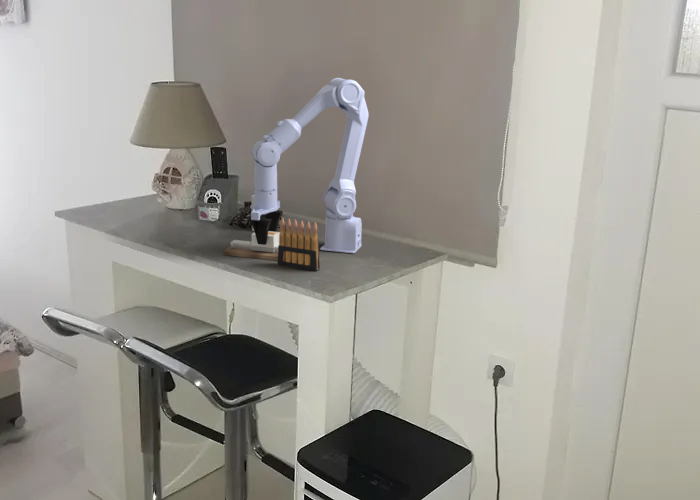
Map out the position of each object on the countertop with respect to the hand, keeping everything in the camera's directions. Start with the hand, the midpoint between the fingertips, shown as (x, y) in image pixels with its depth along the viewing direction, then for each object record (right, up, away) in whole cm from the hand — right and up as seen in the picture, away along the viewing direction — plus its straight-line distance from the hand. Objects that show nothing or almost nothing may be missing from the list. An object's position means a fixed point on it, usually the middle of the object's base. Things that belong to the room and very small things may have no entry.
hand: (266, 241), depth 178 cm
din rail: (-1, -3, +1) cm, 3 cm away
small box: (-3, +4, +25) cm, 26 cm away
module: (0, -2, +1) cm, 2 cm away
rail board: (-1, -3, +1) cm, 3 cm away
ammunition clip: (+9, -7, -9) cm, 14 cm away
